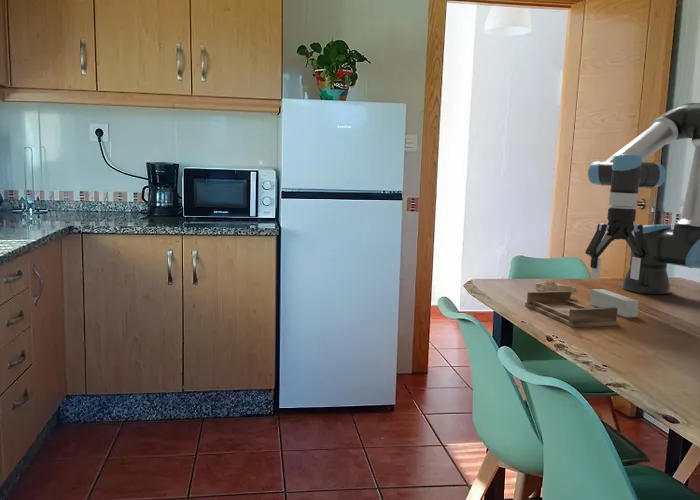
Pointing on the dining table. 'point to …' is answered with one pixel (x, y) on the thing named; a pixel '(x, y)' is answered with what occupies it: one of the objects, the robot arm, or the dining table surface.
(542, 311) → the cradle rack
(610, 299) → the greenware bar
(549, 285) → the pottery oil lamp
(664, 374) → the dining table surface
